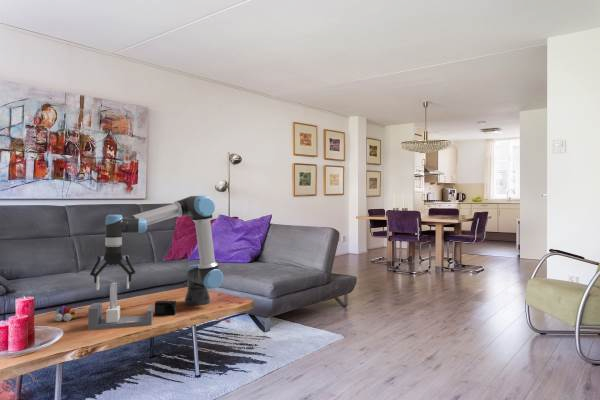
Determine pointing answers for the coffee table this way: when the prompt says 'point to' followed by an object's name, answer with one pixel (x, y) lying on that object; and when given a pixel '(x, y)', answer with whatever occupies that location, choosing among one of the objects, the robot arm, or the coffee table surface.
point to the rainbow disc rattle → (65, 314)
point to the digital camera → (165, 308)
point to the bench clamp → (99, 323)
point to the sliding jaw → (113, 306)
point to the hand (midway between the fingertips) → (112, 289)
